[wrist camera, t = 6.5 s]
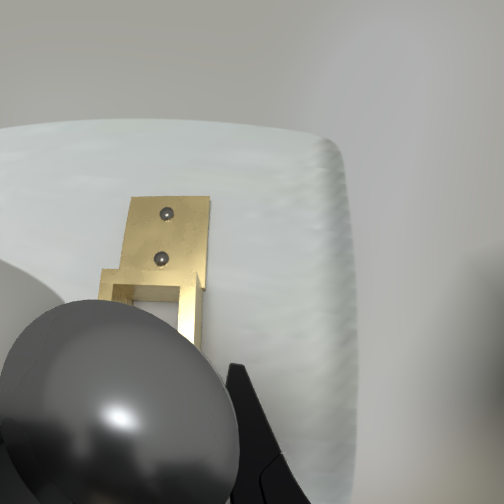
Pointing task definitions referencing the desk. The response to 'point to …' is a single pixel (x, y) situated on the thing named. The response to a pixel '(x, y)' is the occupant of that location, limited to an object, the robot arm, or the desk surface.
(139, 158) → the desk surface
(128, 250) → the brass socket plate
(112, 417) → the hinge pin
